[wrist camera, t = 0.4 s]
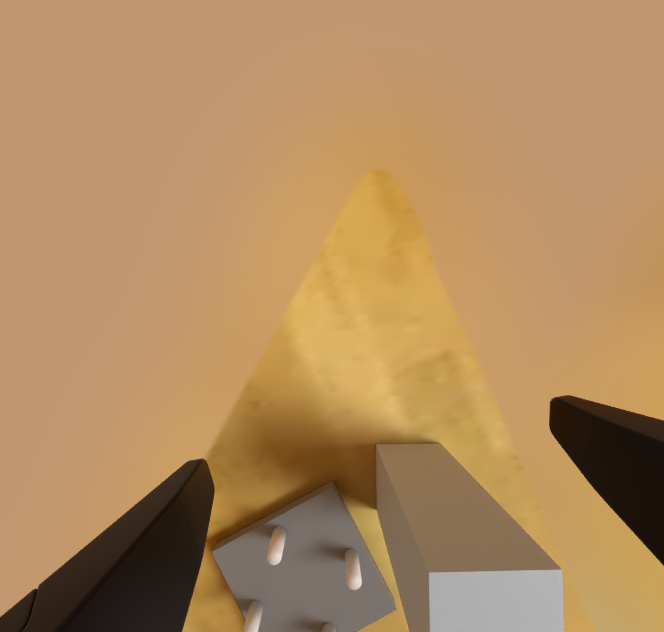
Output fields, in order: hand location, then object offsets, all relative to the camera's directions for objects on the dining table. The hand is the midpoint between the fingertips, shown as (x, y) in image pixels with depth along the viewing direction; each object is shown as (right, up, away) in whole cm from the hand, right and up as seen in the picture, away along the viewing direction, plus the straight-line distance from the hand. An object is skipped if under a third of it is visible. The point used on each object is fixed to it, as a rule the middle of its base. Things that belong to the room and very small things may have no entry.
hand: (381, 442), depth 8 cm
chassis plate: (-3, -16, +16) cm, 23 cm away
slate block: (+5, -9, +17) cm, 20 cm away
